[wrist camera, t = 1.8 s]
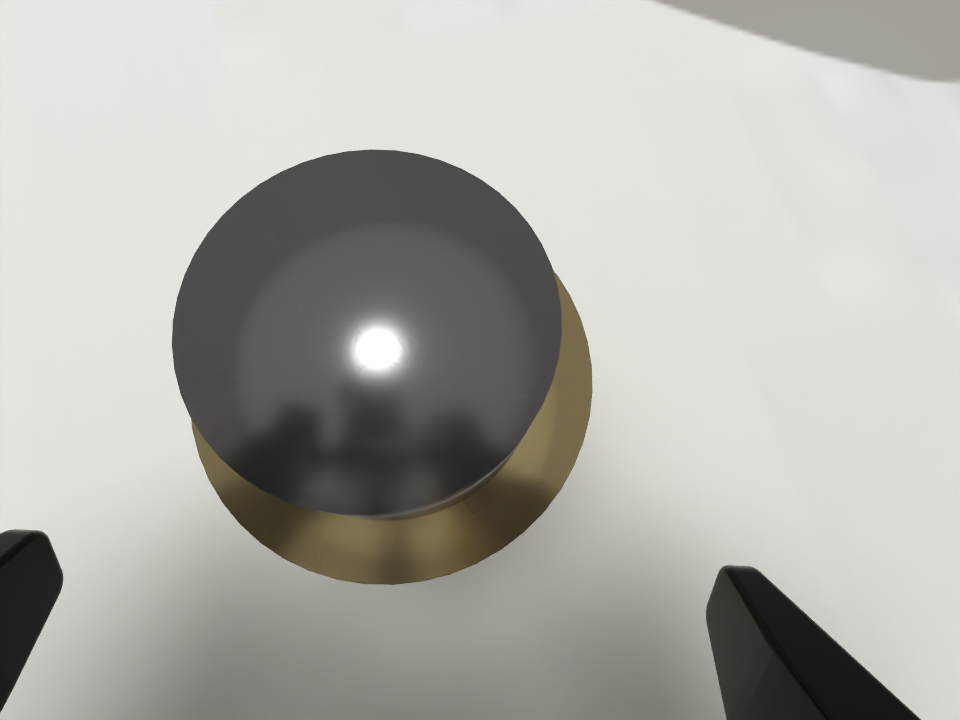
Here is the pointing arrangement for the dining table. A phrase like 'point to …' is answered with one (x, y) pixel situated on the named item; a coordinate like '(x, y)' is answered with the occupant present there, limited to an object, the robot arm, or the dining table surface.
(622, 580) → the dining table surface
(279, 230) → the gold two-tone capped cylinder
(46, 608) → the robot arm
